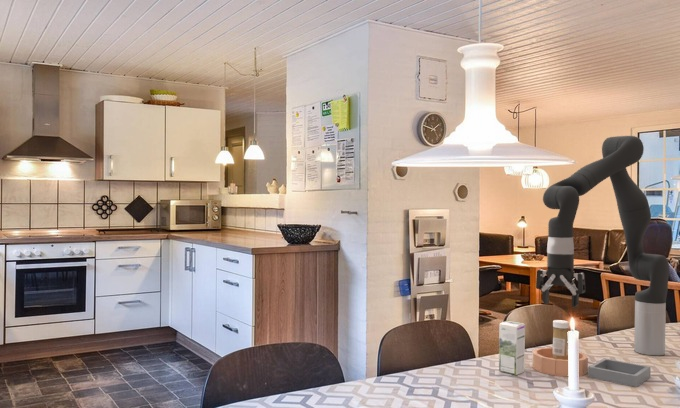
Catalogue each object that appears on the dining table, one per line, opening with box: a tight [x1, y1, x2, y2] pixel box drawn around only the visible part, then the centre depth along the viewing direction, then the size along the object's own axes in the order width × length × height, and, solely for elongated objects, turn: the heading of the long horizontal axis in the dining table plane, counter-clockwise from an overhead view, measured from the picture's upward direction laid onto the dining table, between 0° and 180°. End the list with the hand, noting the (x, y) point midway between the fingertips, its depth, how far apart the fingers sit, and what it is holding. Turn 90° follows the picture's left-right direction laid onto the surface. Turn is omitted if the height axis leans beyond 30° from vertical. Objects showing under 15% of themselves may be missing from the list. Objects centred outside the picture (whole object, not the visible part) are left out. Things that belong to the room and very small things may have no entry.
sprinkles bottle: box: [552, 319, 570, 360], centre depth 179 cm, size 5×5×13 cm
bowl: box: [531, 346, 589, 377], centre depth 179 cm, size 15×15×4 cm
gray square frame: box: [587, 357, 652, 388], centre depth 171 cm, size 13×13×3 cm
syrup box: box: [498, 320, 526, 376], centre depth 175 cm, size 6×6×14 cm
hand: (560, 305), depth 179 cm, fingers open, 8 cm apart
